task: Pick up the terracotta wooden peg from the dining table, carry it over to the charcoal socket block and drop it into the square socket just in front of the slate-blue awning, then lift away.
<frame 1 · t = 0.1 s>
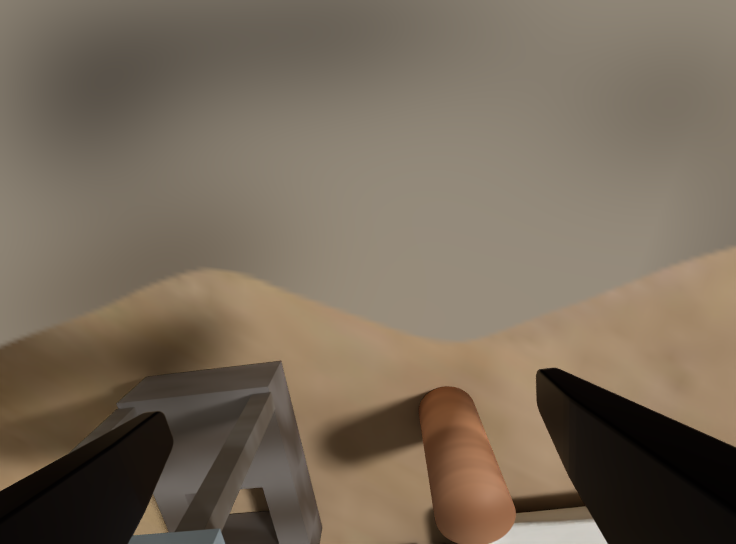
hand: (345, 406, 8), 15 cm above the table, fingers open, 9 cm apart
peg: (446, 410, 25), on the table
socket block: (248, 485, 28), on the table
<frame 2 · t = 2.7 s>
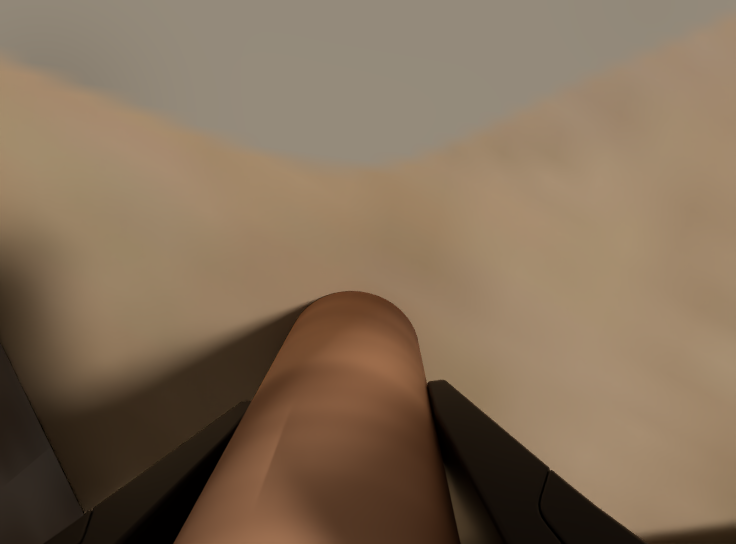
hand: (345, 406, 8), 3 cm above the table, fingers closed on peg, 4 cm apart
peg: (353, 352, 11), on the table, touching gripper
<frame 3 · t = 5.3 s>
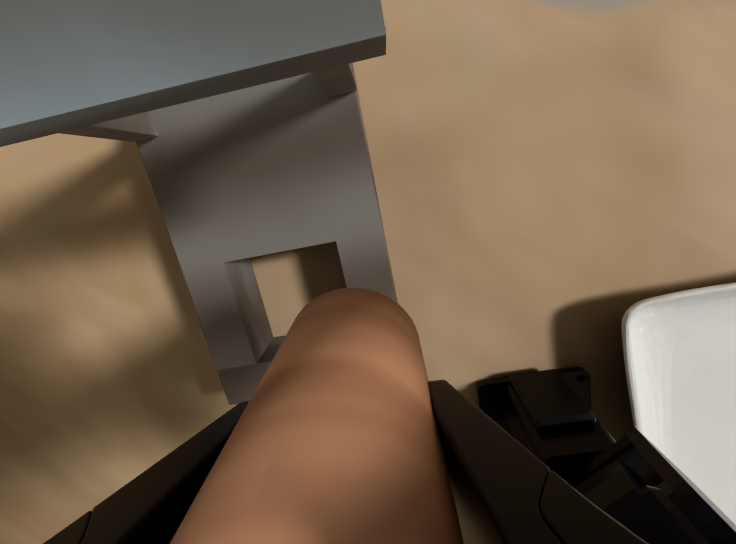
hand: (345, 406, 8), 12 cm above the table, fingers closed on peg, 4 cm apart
peg: (353, 349, 11), point 10 cm above the table, touching gripper
socket block: (306, 286, 21), on the table
when the fingers open (4 cm above the table, at t = 7.8 s): peg drops 1 cm, resting in socket block.
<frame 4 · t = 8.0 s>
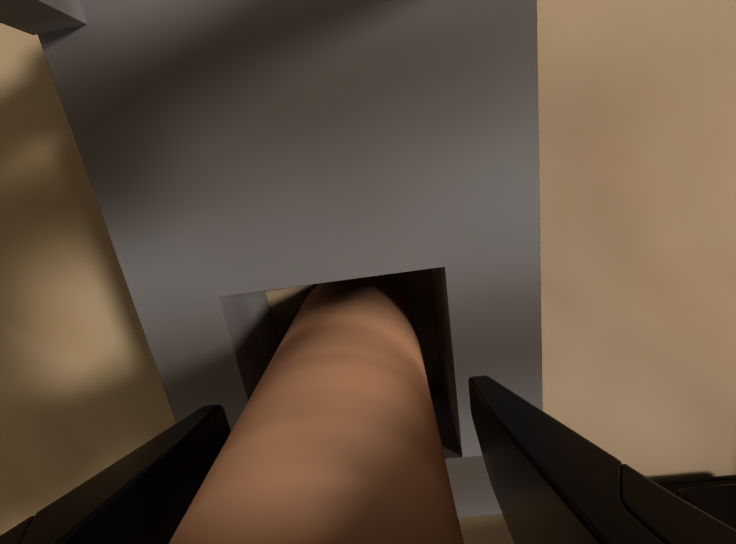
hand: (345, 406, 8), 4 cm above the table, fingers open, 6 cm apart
peg: (356, 327, 12), resting in socket block
socket block: (355, 331, 12), on the table
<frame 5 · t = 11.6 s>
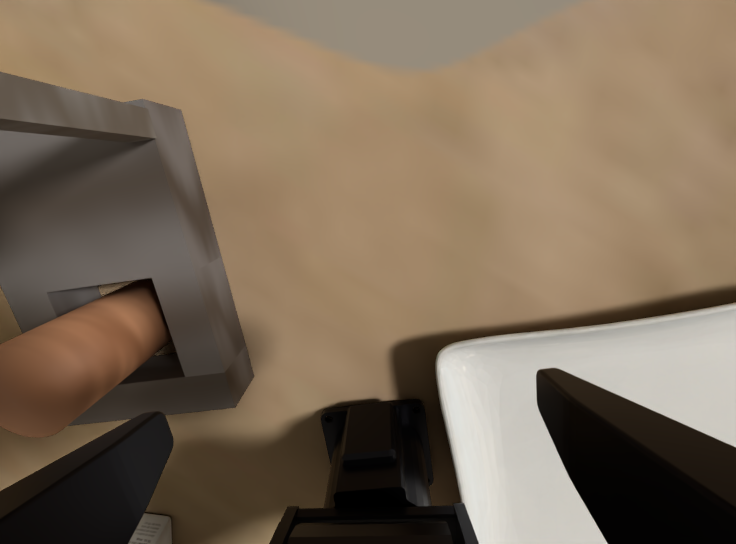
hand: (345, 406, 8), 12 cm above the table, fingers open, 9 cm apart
salad plate: (609, 439, 23), on the table
peg: (153, 311, 21), resting in socket block
socket block: (153, 313, 21), on the table
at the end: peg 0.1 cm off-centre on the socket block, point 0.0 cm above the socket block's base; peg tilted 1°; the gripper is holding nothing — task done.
